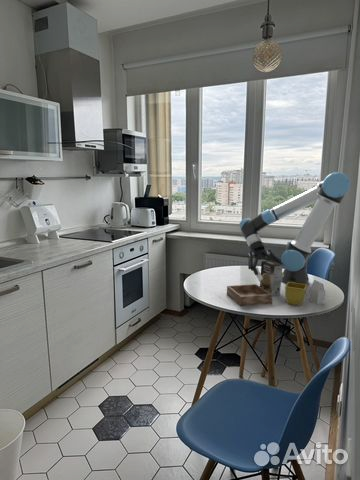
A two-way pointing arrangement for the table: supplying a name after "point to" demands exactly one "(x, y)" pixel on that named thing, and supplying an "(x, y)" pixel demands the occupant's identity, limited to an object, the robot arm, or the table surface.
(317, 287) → the grey block
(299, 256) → the robot arm
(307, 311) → the table surface
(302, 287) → the flower pot
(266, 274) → the coffee box
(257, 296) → the tray
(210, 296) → the table surface
